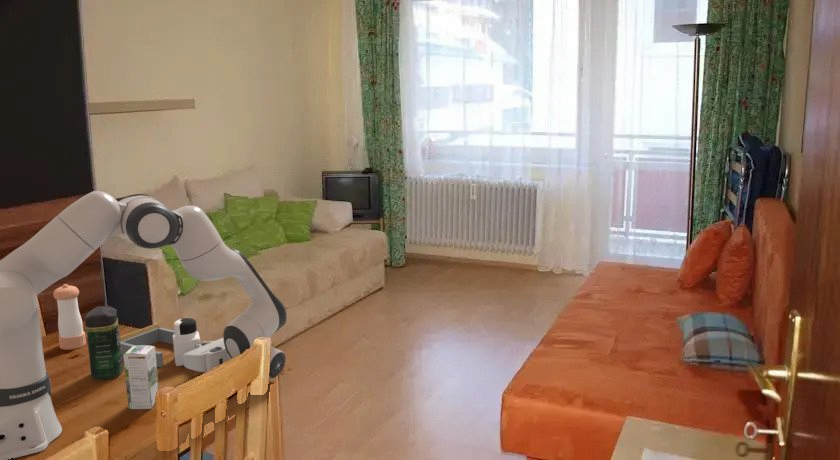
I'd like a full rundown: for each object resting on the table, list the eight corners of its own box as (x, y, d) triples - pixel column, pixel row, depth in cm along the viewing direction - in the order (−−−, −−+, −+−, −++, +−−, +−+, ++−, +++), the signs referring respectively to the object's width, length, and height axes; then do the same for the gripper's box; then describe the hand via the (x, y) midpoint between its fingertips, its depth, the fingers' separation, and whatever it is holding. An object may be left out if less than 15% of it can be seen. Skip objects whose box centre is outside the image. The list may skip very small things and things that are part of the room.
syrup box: (137, 399, 186) (131, 345, 183) (160, 399, 186) (155, 344, 183) (128, 409, 181) (121, 353, 177) (152, 409, 180) (146, 353, 177)
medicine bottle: (200, 354, 215) (196, 314, 213) (202, 362, 209) (198, 322, 206) (174, 357, 213) (170, 318, 210) (175, 366, 206) (171, 325, 204)
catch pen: (160, 367, 206) (158, 349, 205) (117, 355, 216) (115, 338, 214) (201, 349, 218) (199, 333, 217) (159, 339, 228) (157, 322, 227)
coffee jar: (121, 379, 199) (113, 313, 195) (89, 382, 197) (80, 316, 193) (125, 365, 208) (118, 302, 204) (95, 368, 206) (87, 305, 202)
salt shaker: (64, 341, 228) (56, 281, 224) (89, 340, 228) (81, 280, 224) (56, 350, 221) (47, 288, 216) (81, 348, 221) (73, 287, 217)
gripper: (260, 331, 208) (225, 323, 215) (204, 355, 191) (168, 346, 198) (262, 352, 209) (227, 344, 216) (206, 378, 192) (170, 368, 199)
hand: (198, 345), depth 207 cm, fingers closed
